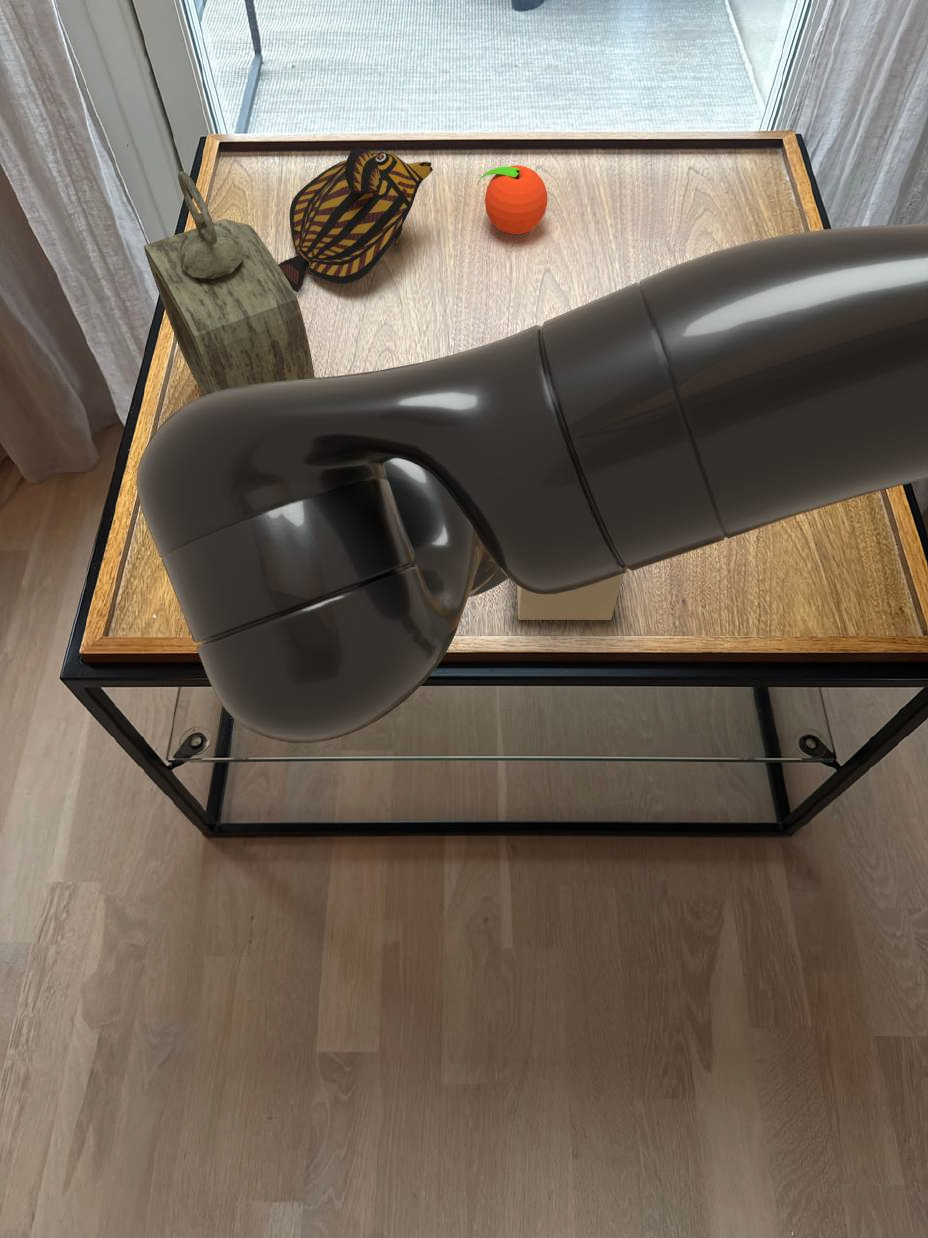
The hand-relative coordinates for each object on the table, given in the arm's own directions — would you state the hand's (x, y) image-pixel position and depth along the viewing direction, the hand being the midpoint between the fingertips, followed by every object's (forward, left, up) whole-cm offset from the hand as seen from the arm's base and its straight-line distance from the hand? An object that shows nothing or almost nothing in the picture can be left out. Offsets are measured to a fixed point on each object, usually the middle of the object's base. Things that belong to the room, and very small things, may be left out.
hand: (545, 486), depth 58 cm
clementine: (-18, -52, -23) cm, 59 cm away
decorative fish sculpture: (0, -54, -23) cm, 58 cm away
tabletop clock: (+15, -34, -23) cm, 43 cm away
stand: (-6, -6, -23) cm, 24 cm away
